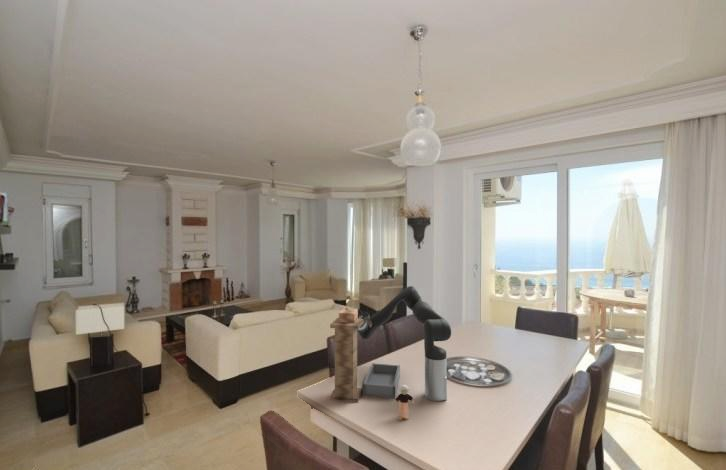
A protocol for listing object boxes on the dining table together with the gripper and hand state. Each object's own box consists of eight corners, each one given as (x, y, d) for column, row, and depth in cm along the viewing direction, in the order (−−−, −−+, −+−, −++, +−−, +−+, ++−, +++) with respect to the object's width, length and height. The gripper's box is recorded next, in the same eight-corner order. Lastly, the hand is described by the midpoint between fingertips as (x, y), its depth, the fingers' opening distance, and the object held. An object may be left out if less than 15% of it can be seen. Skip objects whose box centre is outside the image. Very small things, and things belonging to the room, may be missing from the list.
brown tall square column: (363, 389, 152) (363, 318, 152) (357, 402, 140) (357, 325, 140) (337, 387, 154) (337, 317, 154) (330, 399, 143) (330, 324, 143)
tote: (399, 375, 167) (399, 365, 167) (395, 398, 144) (395, 386, 144) (372, 373, 170) (372, 363, 170) (363, 395, 146) (363, 383, 146)
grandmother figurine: (396, 422, 126) (396, 388, 126) (393, 416, 129) (393, 383, 129) (415, 419, 128) (415, 385, 128) (411, 413, 131) (411, 381, 131)
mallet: (361, 314, 161) (361, 305, 161) (354, 322, 145) (354, 313, 145) (347, 313, 163) (347, 305, 163) (338, 322, 146) (338, 312, 146)
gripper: (372, 329, 168) (366, 319, 154) (344, 327, 171) (336, 317, 156) (373, 314, 172) (368, 303, 157) (346, 313, 174) (338, 302, 160)
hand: (352, 310), depth 157 cm, fingers open, 5 cm apart
